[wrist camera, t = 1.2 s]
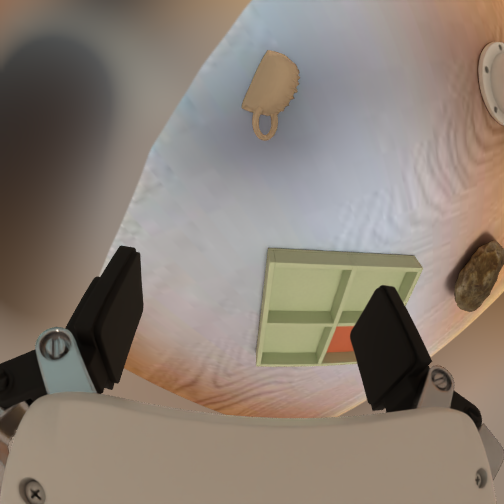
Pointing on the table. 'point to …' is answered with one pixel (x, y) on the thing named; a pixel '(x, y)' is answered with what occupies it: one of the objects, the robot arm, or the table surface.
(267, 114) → the decorative ornament
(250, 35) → the table surface
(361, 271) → the grid
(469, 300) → the stone
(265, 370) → the table surface
